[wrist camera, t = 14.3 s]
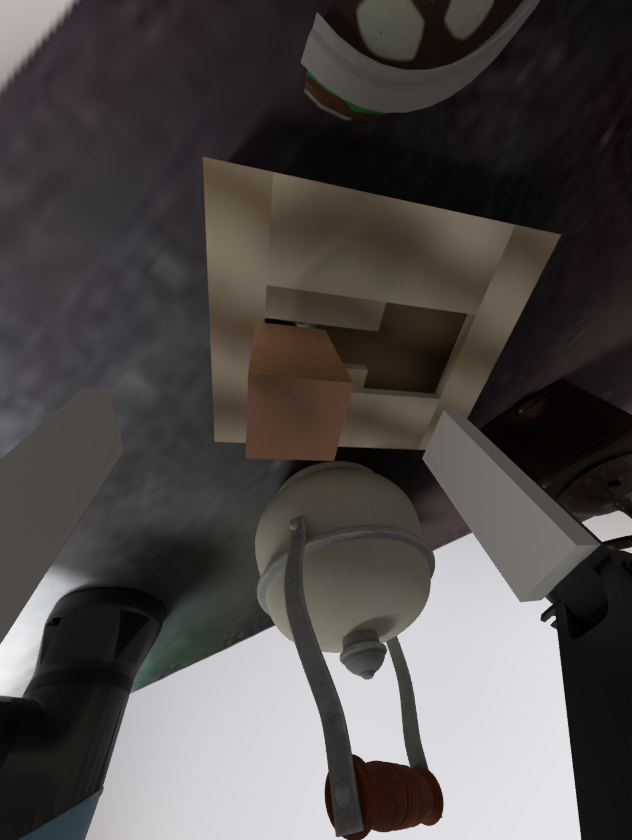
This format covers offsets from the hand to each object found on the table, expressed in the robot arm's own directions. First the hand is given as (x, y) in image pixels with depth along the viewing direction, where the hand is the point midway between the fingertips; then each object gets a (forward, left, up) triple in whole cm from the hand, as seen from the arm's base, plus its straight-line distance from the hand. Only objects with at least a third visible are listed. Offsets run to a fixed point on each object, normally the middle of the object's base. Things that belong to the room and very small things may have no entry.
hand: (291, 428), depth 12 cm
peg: (0, 0, -14) cm, 14 cm away
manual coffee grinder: (-11, -29, -16) cm, 35 cm away
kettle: (-23, -9, -16) cm, 29 cm away
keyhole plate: (0, -6, -15) cm, 16 cm away
